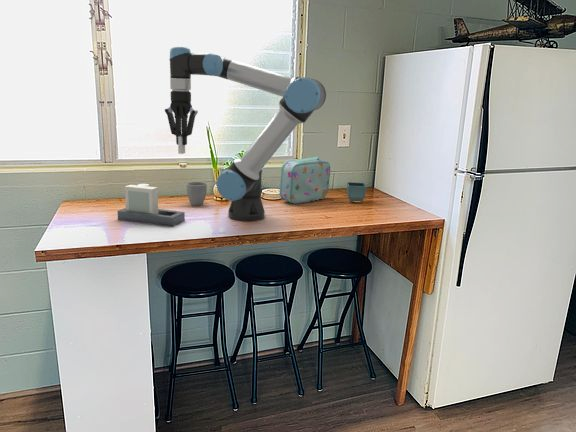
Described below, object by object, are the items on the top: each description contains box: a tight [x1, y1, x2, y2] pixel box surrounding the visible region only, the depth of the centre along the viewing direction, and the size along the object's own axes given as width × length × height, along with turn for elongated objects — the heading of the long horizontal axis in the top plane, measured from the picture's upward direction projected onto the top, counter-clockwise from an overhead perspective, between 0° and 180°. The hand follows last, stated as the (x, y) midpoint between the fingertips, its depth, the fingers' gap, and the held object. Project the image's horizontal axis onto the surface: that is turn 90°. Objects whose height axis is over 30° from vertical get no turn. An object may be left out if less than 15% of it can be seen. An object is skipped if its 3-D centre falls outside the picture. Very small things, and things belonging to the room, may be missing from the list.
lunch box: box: [279, 156, 331, 205], centre depth 227 cm, size 27×10×21 cm, turn 133°
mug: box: [186, 181, 208, 207], centre depth 213 cm, size 12×9×10 cm
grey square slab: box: [124, 184, 159, 214], centre depth 185 cm, size 12×4×12 cm, turn 74°
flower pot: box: [346, 181, 368, 202], centre depth 230 cm, size 9×9×9 cm
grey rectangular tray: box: [117, 207, 186, 227], centre depth 185 cm, size 24×10×4 cm, turn 74°
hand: (181, 153), depth 183 cm, fingers closed
